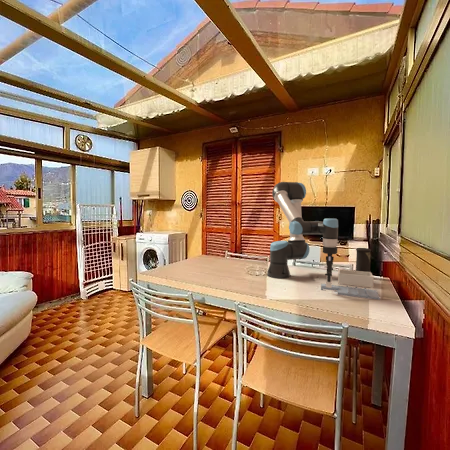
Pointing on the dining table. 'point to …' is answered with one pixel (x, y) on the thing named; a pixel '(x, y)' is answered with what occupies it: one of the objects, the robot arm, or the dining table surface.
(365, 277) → the tub
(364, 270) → the container
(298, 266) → the dining table surface
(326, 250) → the robot arm
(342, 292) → the grey segmented tray
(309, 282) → the dining table surface
